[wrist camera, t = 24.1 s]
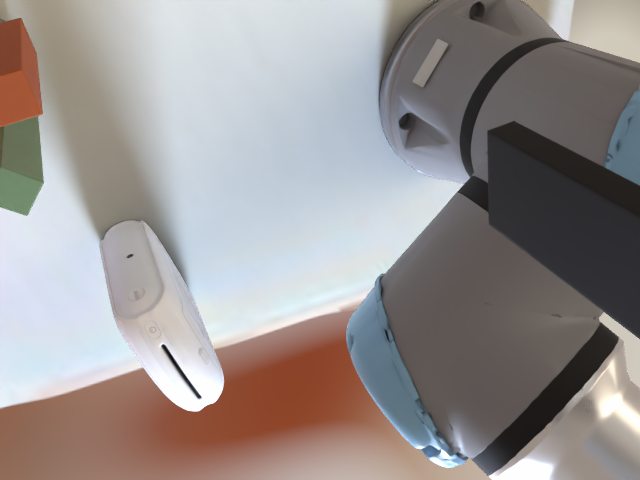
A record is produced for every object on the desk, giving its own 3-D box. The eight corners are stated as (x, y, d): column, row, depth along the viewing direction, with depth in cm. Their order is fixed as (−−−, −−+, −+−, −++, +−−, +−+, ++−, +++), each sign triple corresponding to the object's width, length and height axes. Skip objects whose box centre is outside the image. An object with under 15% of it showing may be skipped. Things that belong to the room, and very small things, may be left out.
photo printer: (88, 234, 45) (108, 337, 35) (142, 207, 45) (176, 301, 36) (152, 328, 51) (185, 437, 41) (199, 303, 51) (242, 405, 42)
